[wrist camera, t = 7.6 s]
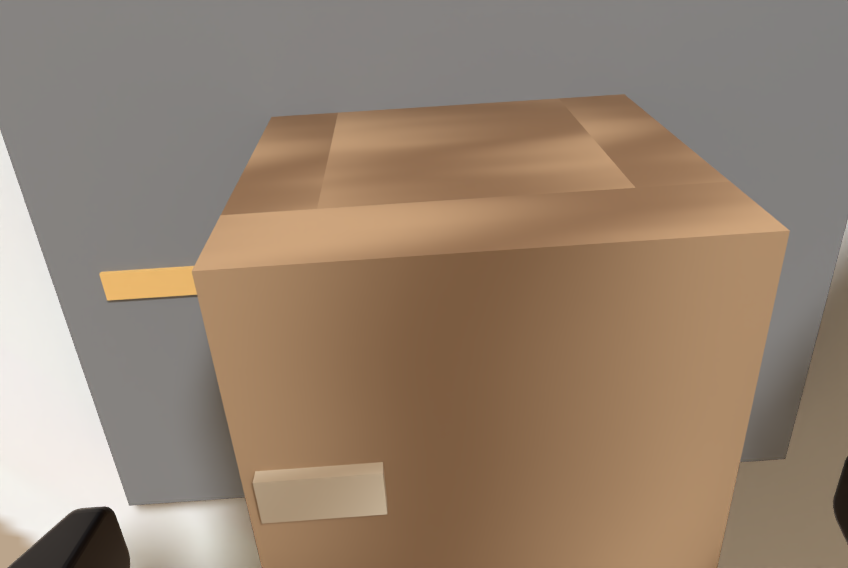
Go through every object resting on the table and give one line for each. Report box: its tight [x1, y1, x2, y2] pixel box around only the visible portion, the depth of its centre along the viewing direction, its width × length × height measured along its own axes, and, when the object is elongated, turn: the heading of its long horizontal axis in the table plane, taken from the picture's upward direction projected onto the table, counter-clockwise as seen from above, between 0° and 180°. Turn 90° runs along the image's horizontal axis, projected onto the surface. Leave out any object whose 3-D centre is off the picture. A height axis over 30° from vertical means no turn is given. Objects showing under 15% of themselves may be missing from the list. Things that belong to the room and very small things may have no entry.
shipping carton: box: [192, 94, 790, 568], centre depth 12 cm, size 6×6×6 cm
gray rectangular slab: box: [0, 0, 848, 506], centre depth 15 cm, size 16×12×2 cm
